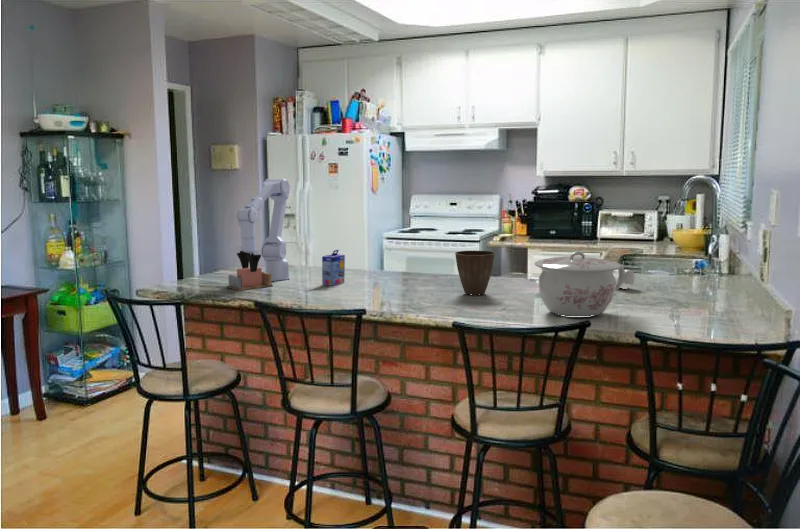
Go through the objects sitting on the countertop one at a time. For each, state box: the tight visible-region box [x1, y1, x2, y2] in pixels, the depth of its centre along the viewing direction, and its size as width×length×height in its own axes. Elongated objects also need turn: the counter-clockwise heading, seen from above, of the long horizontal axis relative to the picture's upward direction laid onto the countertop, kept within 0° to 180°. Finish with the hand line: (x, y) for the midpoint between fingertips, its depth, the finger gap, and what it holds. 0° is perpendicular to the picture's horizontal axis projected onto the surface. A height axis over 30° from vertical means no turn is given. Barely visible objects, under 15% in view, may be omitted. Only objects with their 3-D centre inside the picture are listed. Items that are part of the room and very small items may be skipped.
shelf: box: [227, 271, 273, 291], centre depth 266 cm, size 15×10×5 cm, turn 129°
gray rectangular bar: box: [228, 274, 241, 289], centre depth 261 cm, size 1×9×4 cm, turn 39°
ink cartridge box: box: [321, 249, 346, 287], centre depth 270 cm, size 10×6×14 cm, turn 152°
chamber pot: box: [534, 251, 626, 316], centre depth 211 cm, size 28×28×21 cm
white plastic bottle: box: [612, 269, 636, 286], centre depth 261 cm, size 8×19×8 cm, turn 32°
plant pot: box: [454, 250, 496, 296], centre depth 247 cm, size 15×15×16 cm
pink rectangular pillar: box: [236, 266, 263, 287], centre depth 265 cm, size 9×4×7 cm, turn 128°
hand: (249, 270), depth 265 cm, fingers open, 7 cm apart
